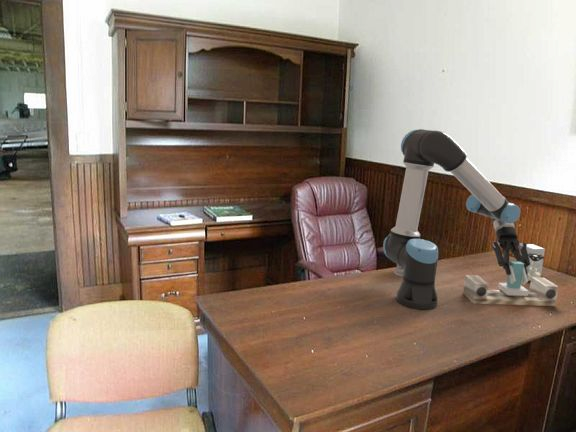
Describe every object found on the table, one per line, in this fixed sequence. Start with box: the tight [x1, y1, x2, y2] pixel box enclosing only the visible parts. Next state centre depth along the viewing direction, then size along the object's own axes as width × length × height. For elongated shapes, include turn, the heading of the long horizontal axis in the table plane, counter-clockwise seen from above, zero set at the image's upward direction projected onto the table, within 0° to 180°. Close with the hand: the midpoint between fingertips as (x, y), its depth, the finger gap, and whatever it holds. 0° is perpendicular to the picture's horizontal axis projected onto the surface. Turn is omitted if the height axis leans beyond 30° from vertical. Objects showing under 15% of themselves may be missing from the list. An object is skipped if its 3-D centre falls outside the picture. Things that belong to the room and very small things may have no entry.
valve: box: [527, 253, 545, 282], centre depth 202 cm, size 7×7×12 cm
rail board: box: [462, 274, 559, 307], centre depth 179 cm, size 32×10×8 cm, turn 91°
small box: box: [520, 243, 546, 276], centre depth 212 cm, size 8×6×13 cm
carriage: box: [497, 260, 529, 296], centre depth 178 cm, size 8×8×13 cm
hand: (519, 282), depth 174 cm, fingers closed on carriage, 4 cm apart
